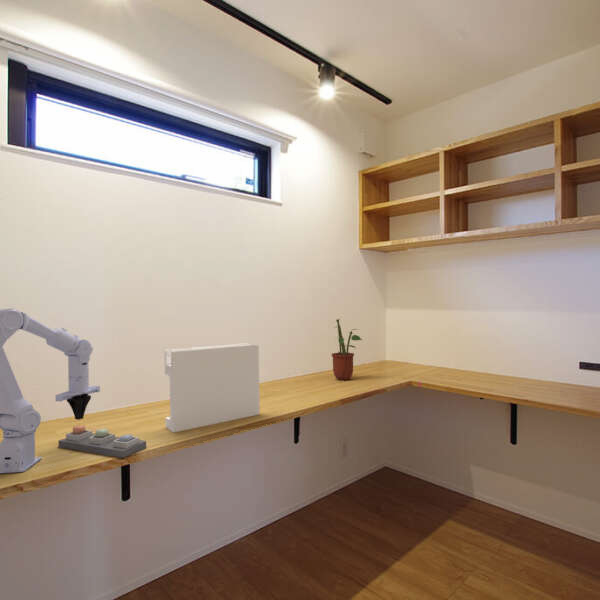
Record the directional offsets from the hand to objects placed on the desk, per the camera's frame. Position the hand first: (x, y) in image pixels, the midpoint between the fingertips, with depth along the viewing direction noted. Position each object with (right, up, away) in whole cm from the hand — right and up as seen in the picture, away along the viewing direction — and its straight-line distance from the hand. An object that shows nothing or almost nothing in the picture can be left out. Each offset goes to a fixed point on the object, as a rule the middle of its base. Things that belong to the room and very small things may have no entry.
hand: (79, 418), depth 128 cm
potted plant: (+99, -8, +104) cm, 144 cm away
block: (+39, -8, +24) cm, 46 cm away
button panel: (+9, -8, -4) cm, 13 cm away
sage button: (+9, -4, -4) cm, 11 cm away
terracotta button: (0, -4, 0) cm, 4 cm away
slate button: (+19, -5, -8) cm, 21 cm away
